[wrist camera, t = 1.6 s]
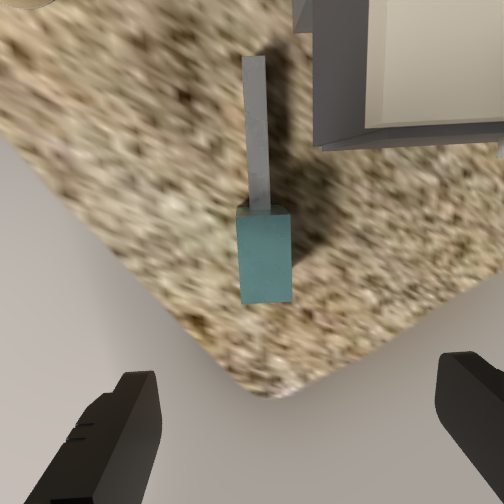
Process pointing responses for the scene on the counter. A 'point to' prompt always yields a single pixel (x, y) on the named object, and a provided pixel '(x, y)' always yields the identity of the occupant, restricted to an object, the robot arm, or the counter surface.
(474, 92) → the cabinet
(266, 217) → the tool
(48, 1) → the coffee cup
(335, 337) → the counter surface
